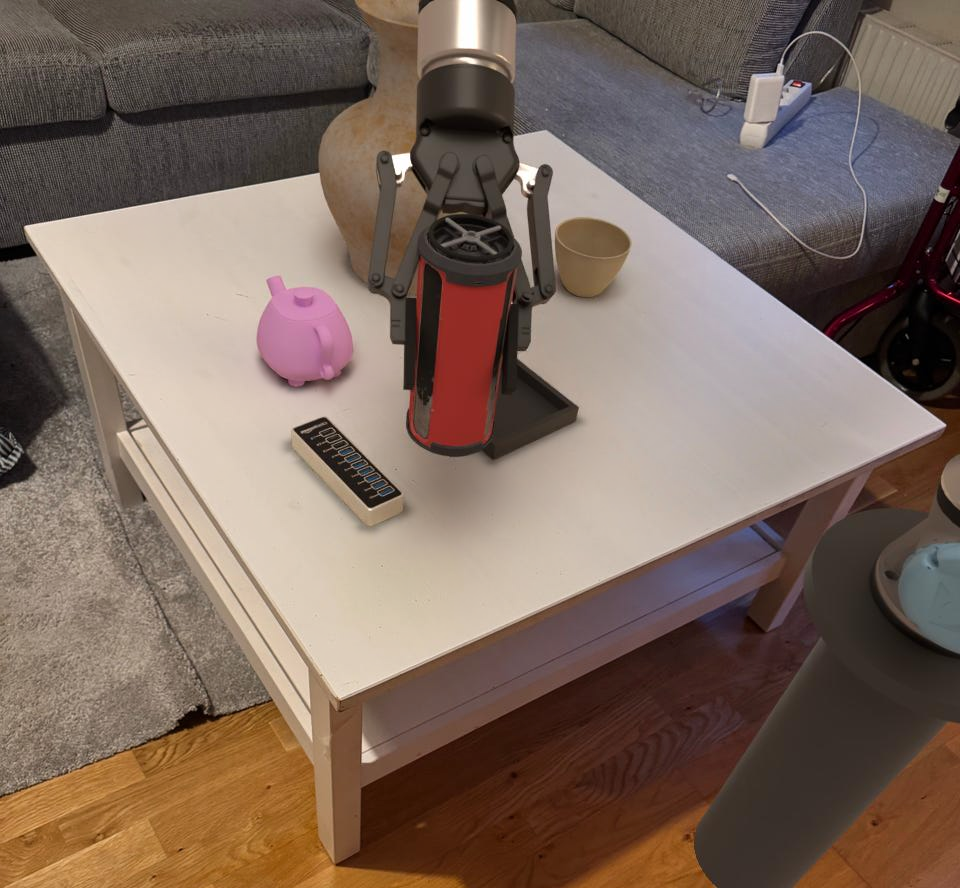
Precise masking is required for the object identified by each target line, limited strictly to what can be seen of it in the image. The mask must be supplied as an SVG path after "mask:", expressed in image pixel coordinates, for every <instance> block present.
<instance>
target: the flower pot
mask: <svg viewBox="0 0 960 888" xmlns="http://www.w3.org/2000/svg"><path fill="white" fill-rule="evenodd" d="M554 230H555V232H554V253H555V260H556V265H557V270H558V273H559V276H560V279H561V282H562V284H563V286H564V288H565V290H566V291H567V292H569V293H571V294H572V295H574V296H576V297H580V298H593V297H596V296H599V295H600V294H601V293H602V292H603V291H604V290H605V289H606V288H607V287H608V286H609V285H610V284H611V283H612V282H613V280H614V279H616V277H617V275H618V274H619V272H620V271H621V269H622V268H623V266H624V264H625V262H626V261H627V258H628V256H629V254H630V252H631V250H632V244H633V242H632V238H631V237H630V235H629V234H628V233H627V232H626V231H625V230H624V229H623V228H622V227H620V226H618V225H617V224H616V223H612V222H610V221H607V220H605V219H601V218H596V217H589V216H577V217H571V218H567V219H565V220H563V221H561V222H560V223H559V224H558V225H557V226H556V228H555V229H554Z"/></svg>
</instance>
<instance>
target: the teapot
mask: <svg viewBox="0 0 960 888" xmlns="http://www.w3.org/2000/svg"><path fill="white" fill-rule="evenodd" d="M265 282H266V284H267V287H268V290H269V293H270V295H271V298H270V300H269V301H268V302H267V304H266V306H265V308H264V310H263V311H262V313H261V315H260V318H259V322H258V325H257V330H256V347H257V351H258V352H259V355H260V357H261V358H262V359H263V361H264V362H265V363H266V364H267V365H268V366H269V367H270V369H272V370H273V371H274V372H275V373H276V374H277V375H279V377H282V378H284V379H287V383H288V384H289V385H290V386H292V387H302V386H304V384H305V383H306V382H307V381H317V380H322V379H323V380H326V381H329V380H332V379H333V378H336V377H339V376H341V374H342V371H341V370H342V369H344V368H345V367H346V366H347V364H349V362H350V361H351V360H352V358H353V355H354V339H353V336H352V331H351V329H350V326H349V324H348V322H347V320H346V319H347V318H346V317H345V316H344V313H342V311H341V309H340V307H339V306H338V304H337V302H336V301H335V299H333V297H332V296H331V295H330V294H329V293H328V292H326V291H325V290H323V289H321V288H318V287H315V286H296V287H291V288H287V289H286V286H285V283H284V280H283V278H282V276H281V275H280V274H279V275H274V276H271V277H269V278H267V279H266V280H265Z"/></svg>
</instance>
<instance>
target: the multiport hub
mask: <svg viewBox="0 0 960 888" xmlns="http://www.w3.org/2000/svg"><path fill="white" fill-rule="evenodd" d="M290 433H291V448H292V449H293V450H294V451H295V452H296V454H297V455H298V456H300V458H302V460H303V461H304V462H305V463H306V464H307V465H308V466H309V467H310V468H311V469H312V470H313V471H314V472H315V474H317V476H319V477H320V479H322V481H323V482H324V483H325V484H326V485H327V486H328V487H329V488H330V489H331V490H332V491H333V492H334V493H335V494H336V495H337V496H338V498H340V500H341V501H342V502H343V503H344V504H345V505H346V506H347V507H348V508H349V509H350V510H351V511H352V513H354V514H355V516H356V517H358V519H359V520H361V522H362V523H363V524H364V525H365V526H366V527H368V528H369V527H374V526H376V525H378V524H380V523H382V522H385V521H387V520H389V519H391V518H394V517H395V516H397V515H400V514H402V513H403V512H404V499H405V493H404V492H403V490H401V489H400V488H399V487H398V486H397V485H396V483H394V482H393V481H392V480H391V479H390V478H389V476H388V475H386V474H385V473H384V472H383V471H382V470H381V469H380V468H379V467H378V466H377V465H376V464H375V463H374V462H373V461H372V460H371V459H370V458H369V457H368V456H367V455H366V454H365V453H364V452H363V450H361V449H360V448H359V447H358V446H357V445H356V444H355V443H354V442H353V441H352V440H351V438H349V437H348V436H347V435H346V434H345V433H344V432H343V431H342V430H341V428H339V427H338V426H337V425H336V424H335V423H334V422H333V421H332V420H331V419H330V418H329V417H327V416H320V417H317V418H315V419H312V420H309V421H307V422H304V423H302V424H299V425H296V426H294V427H292V428H291V430H290Z"/></svg>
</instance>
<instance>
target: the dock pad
mask: <svg viewBox="0 0 960 888" xmlns="http://www.w3.org/2000/svg"><path fill="white" fill-rule="evenodd" d="M502 359H503V358H502ZM579 409H580V406H578V405H577V404H576V403H575V402H573V401H572V400H571V399H570V398H568V397H567V396H566V395H565V394H563V393H561V392H560V391H559V390H558V389H557V388H555V387H554V386H553V385H551V384H550V383H549V382H547V380H545V379H544V378H543V377H541V375H539V374H538V373H536V372H535V371H534V370H532V369H531V368H530V367H529V366H527V365H526V363H523V362H522V361H521V360H520V359H518V358H517V388H516V391H515V392H513V393H512V394H511V395H504V394H502V364H501V371H500V377H499V383H498V394H497V400H496V406H495V413H494V420H495V423H494V434H493V438H492V440H491V442H490V443H489V444H488V445H487V446H486V447H485V448H484V449H482V450H481V451H482V452H483V453H484V454H485V455H486V456H488V457H489V458H490V459H491V460H492V461H495V460H498V459H499V458H501V457H505V456H507V455H508V454H510V453H512V452H514V451H517V450H519V449H520V448H523V447H525V446H527V445H529V444H531V443H533V442H535V441H537V440H539V439H542V438H544V437H546V436H549V435H551V434H552V433H555V432H557V431H558V430H561V429H563V428H565V427H568V426H570V425H571V424H574V423H576V422H577V417H578V414H579Z"/></svg>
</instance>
